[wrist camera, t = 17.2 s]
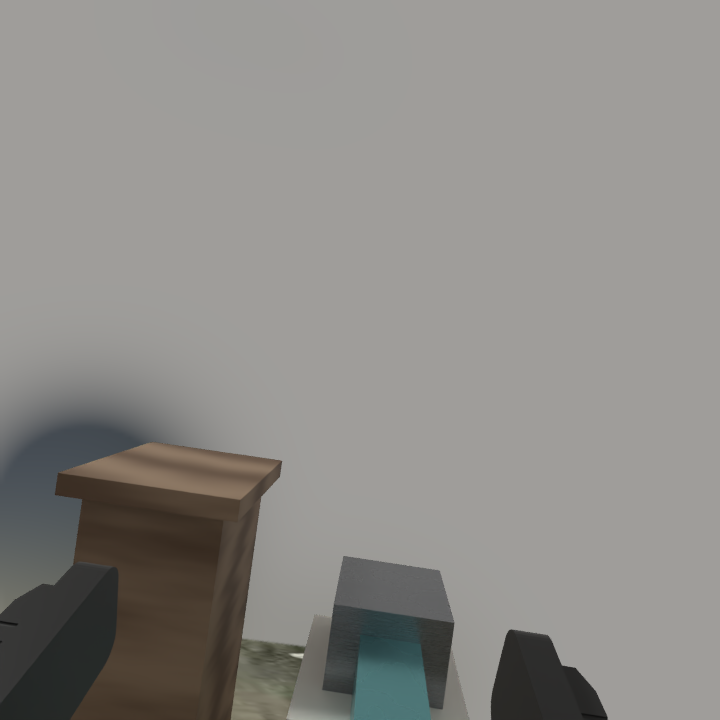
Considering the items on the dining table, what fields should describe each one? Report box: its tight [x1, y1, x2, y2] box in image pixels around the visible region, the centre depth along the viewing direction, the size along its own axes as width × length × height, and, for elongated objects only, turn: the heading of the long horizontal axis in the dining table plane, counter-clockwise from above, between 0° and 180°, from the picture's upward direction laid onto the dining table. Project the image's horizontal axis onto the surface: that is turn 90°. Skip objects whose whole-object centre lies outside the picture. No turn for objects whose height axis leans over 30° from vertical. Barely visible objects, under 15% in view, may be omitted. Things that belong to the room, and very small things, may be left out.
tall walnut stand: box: [55, 442, 282, 720], centre depth 35 cm, size 16×14×32 cm
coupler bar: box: [322, 556, 454, 720], centre depth 29 cm, size 20×7×5 cm, turn 178°
